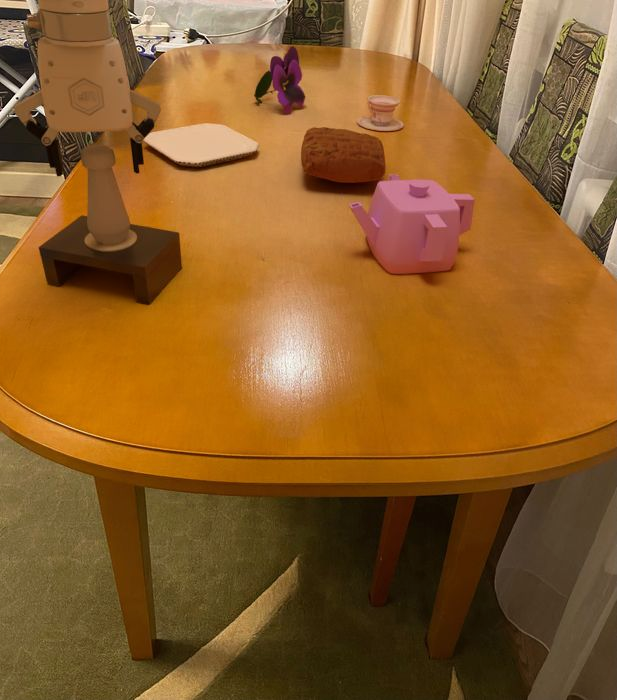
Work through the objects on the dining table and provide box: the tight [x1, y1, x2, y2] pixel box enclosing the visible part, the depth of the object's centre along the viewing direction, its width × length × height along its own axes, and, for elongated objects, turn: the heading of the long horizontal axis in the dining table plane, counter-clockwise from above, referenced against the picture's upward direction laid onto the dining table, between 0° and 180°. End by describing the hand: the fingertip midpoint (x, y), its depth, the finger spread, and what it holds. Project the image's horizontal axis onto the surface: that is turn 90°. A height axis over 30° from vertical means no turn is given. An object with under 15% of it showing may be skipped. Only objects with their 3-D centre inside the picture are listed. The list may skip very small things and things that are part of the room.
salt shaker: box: [80, 144, 131, 245], centre depth 82 cm, size 6×6×13 cm
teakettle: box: [348, 173, 475, 275], centre depth 97 cm, size 17×17×12 cm
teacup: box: [356, 94, 405, 132], centre depth 154 cm, size 12×12×6 cm
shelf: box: [38, 215, 183, 306], centre depth 88 cm, size 16×11×6 cm
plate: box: [143, 122, 260, 168], centre depth 133 cm, size 21×21×2 cm
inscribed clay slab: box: [300, 126, 386, 184], centre depth 124 cm, size 22×17×8 cm
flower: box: [253, 45, 306, 115], centre depth 160 cm, size 15×15×14 cm
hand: (98, 171), depth 80 cm, fingers open, 9 cm apart
